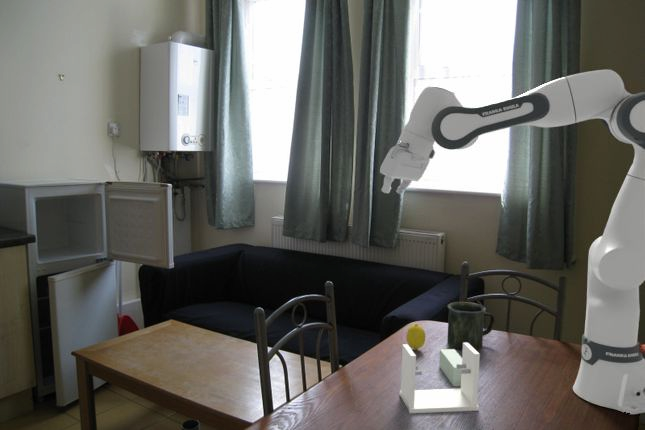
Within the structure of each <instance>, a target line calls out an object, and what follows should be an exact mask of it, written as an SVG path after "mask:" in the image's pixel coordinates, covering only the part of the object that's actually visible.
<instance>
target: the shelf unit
mask: <svg viewBox="0 0 645 430" xmlns="http://www.w3.org/2000/svg"><path fill="white" fill-rule="evenodd" d="M461 353H462V354H461V355H462V356H461V358H462V364H457V365H456V367H457V369H461V386H460V388H437V389H434V388H433V389H416V376H422V375H423V372H422V370H419V365H417V355H416V353H415V352H414V351H413V349H412V347H410V346H409V344H408V343H406V344H404V343H403V344H402V352H401V354H402V355H401V379H400V380H401V382H400V383H401V385H400V390H399V396H400V398H401V400H402V401H403V403H404V404H405V407H406V408H407V411H408V412H409V414H424V413H426V414H427V413H431V414H432V413H446V412H447V413H448V412H450V413H451V412H474V411H480V406H479V405H478V394H479V376H480V375H479V374H480V372H479V371H480V357H481V353H479V352H478V351H477V349H476V350H475V349H474V348H473V347H472V346H471V345H470V344H469V343H463V350H462V352H461Z"/></svg>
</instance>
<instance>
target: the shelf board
mask: <svg viewBox="0 0 645 430" xmlns="http://www.w3.org/2000/svg"><path fill="white" fill-rule="evenodd" d="M457 364H462V356H461V355H460V354H459V352H458V351H457V350H456V348H453V349H452V348H451V349H450V348H448V349H446V348H445V349H443V348H442V349H439V368H440V369H441V371H442V372H443V373H444V375H445V376H446V378H447V379H448V381H449V382H450V383H451V384H452V386H453V387H461V369H457V367H456V365H457Z"/></svg>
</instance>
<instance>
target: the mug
mask: <svg viewBox="0 0 645 430" xmlns="http://www.w3.org/2000/svg"><path fill="white" fill-rule="evenodd" d="M447 308H448V318H447V320H448V322H447V343H448V345H449V346H450V347H452V348H453V349H458V350H462V351H463V343H469V344H470V345H471V346H472V347H473V348H474V349H475V350H476V351H477V350H478V349H481V348H482V346H483V340H484V339H483V338H484V337H485V336H486V335H488V334H490V333H491V332H492V331H493V328H494V325H495V317H494V316H493V314H492V313H491V312H486V310H487V309H486V307H485V306H483V304H478V303H475V302H470V301H469V302H467V301H453V302H451V303H448V304H447ZM484 317H489V320H490V322H489V324H488V327H487V328H486V329H485V330H484V320H485V318H484Z"/></svg>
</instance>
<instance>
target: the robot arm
mask: <svg viewBox="0 0 645 430" xmlns="http://www.w3.org/2000/svg"><path fill="white" fill-rule="evenodd" d="M595 119H600V120H601V121H602V124H603V125H604V126H605V128H606V130H607V132H608V133H609V134H610V135H611V137H612V138H613V139H615V140H617V141H618V142H620V143H622V144H627V145H628V144H629V145H632V147H633V149H634V157H633V162H632V164H631V166H630V168H629V170H628V172H627V174H626V177H625V178H624V180H623V183H622V185H621V187H620V189H619V192H618V194H617V195H616V197H615V200H614V203H613V205H612V207H611V210H610V214H609V217H608V220H607V222H606V224H605V227H604V230H603V234H602V235H601V236H599V237H598V238H596V239H595V240H594V241H593V242H592V244H591V245H590V247H589V249H588V256H587V258H588V259H587V283H586V284H587V286H586V288H587V289H586V310H585V323H584V333H583V334H582V336H581V337H582V338H581V347H580V352H581V353H580V354H581V361H580V365H579V369H578V373H577V375H576V379H575V382H574V384H573V386H572V390H573V392H574V393H575V394H576V395H577V396H578V397H579V398H581V399H583V400H585V401H587V402H588V403H590V404H594V405H597V406H600V407H605V408H608V409H613V410H617V411H620V412H622V413H624V412H626V413H625V414H627V413H630V414H629V415H639V414H643V413H645V358H644V356H643V353H644V354H645V344H641V342H639V341H638V335H639V322H640V315H641V313H640V312H641V309H640V286H641V285H642V284H643V283H644V282H645V91H642V92H638V93H635V94H631V93H630V92H628V91H627V90H626V89H625V84H624V81H623V79H622V77H621V76H620V74H618V73H617V72H616V71H614V70H613V69H598V70H592V71H591V70H590V71H585V72H579V73H575V74H570V75H567V76H564V77H561V78H560V77H559V78H557V79H554V80H551V81H549V82H547V83H544V84H542V85H539V86H537V87H535V88H533V89H530V90H529V91H527V92H525V93H523V94H520V95H518V96H516V97H513V98H509V99H505V100H500V101H497V102H494V103H489V104H484V105H482V106H481V105H480V106H478V107H464V106H463V105H462V103H461V102H460V101H459V99H458V98H457V96H456V95H455V92H454V91H452V90H451V89H449V88H445V87H444V86H443V87H442V86H437V85H430V86H429V85H428V86H427V87H425V88H423V90H422V91H421V93H420V94H419V96H418V97H417V99H416V101H415V103H414V105H413V107H412V109H411V112H410V116H409V119H408V122H407V123H406V125H404V127H403V129H402V131H401V133H400V136H399V138H398V140H397V142H396V144H395V146H391V148H390V149H389V151H388V153H387V154H386V156H385V158H384V159H383V162H382V163H381V165H380V169H379V173H380V174H381V175H384V177H383V185H382V187H381V192H382V193H384V194H389V193H390V192H391V190H392V187H391V186H392V182H394V181H395V179H398V180H402V181H401V183H400V185H399V186H397V188H396V190H395V192H396V193H397V194H398V195H404V194H405V192H406V190H407V188H408V187H410V185H411V183H412V182H419V181H420V180H421V178H422V177H423V175H424V173H426V172H425V171H426V170H427V167H428V165H429V164H430V161H431V160H432V159H433V158H434V156H435V154H436V151H435V149H434V145H435V143H436V144H437V145H438V146H439V147H441V148H443V149H445V150H451V151H452V150H465V149H467V148H470V147H471V146H473V145H474V144H475V143H476V142H477V141H478V138H479V137H480V136H481V135H485V134H488V133H493V132H496V131H500V130H505V129H508V128H513V127H519V126H530V127H531V126H532V127H533V126H534V127H538V128H544V129H545V128H556V127H563V126H568V125H573V124H576V123H580V122H584V121H588V120H595Z"/></svg>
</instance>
